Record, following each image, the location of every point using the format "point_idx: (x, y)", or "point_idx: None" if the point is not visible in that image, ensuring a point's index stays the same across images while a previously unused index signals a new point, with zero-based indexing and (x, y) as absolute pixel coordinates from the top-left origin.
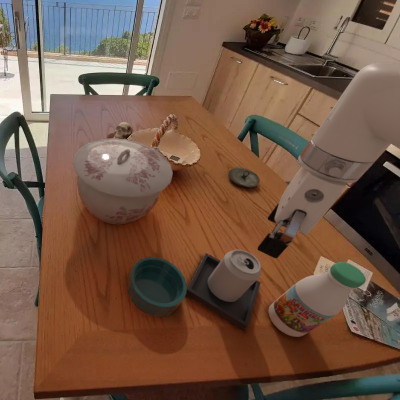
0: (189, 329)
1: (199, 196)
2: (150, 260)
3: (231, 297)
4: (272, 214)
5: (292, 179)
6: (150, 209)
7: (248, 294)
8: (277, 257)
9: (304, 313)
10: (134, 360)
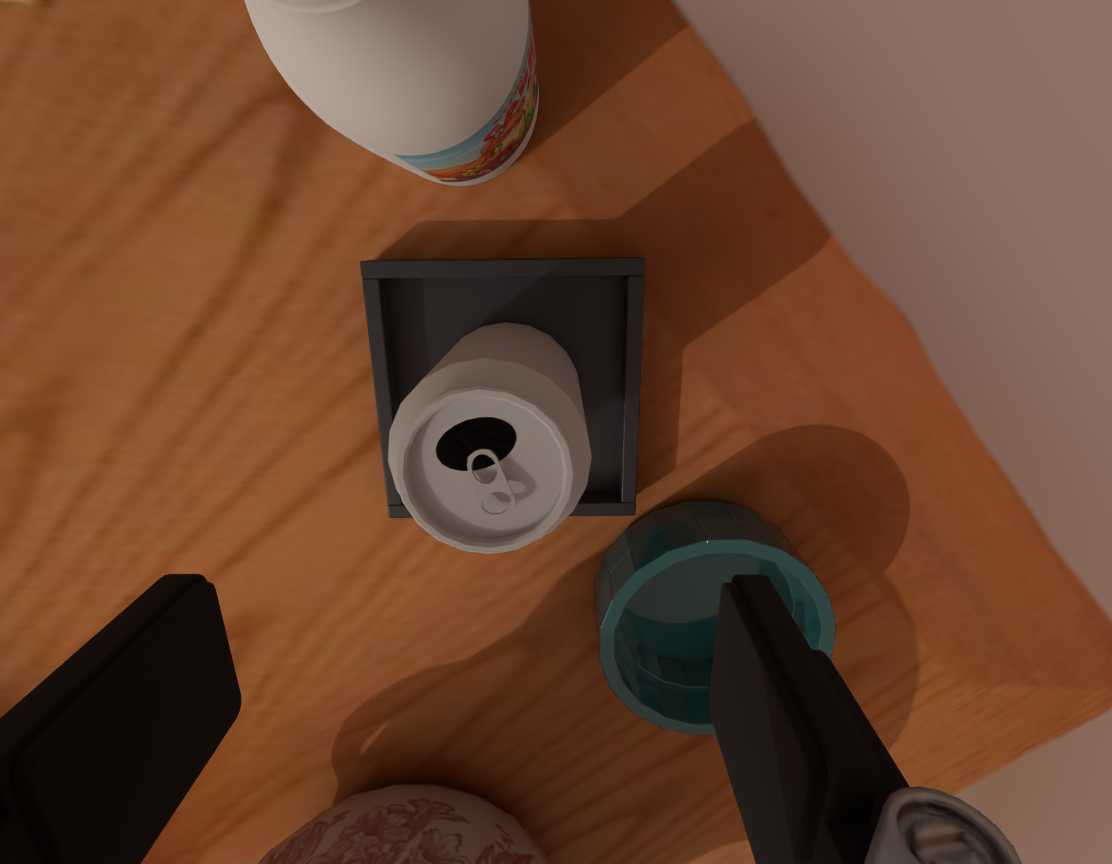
0: (763, 431)
1: (30, 640)
2: (638, 696)
3: (571, 367)
4: (192, 774)
5: None
6: (402, 839)
7: (452, 284)
8: (770, 581)
9: (530, 61)
10: (966, 532)
